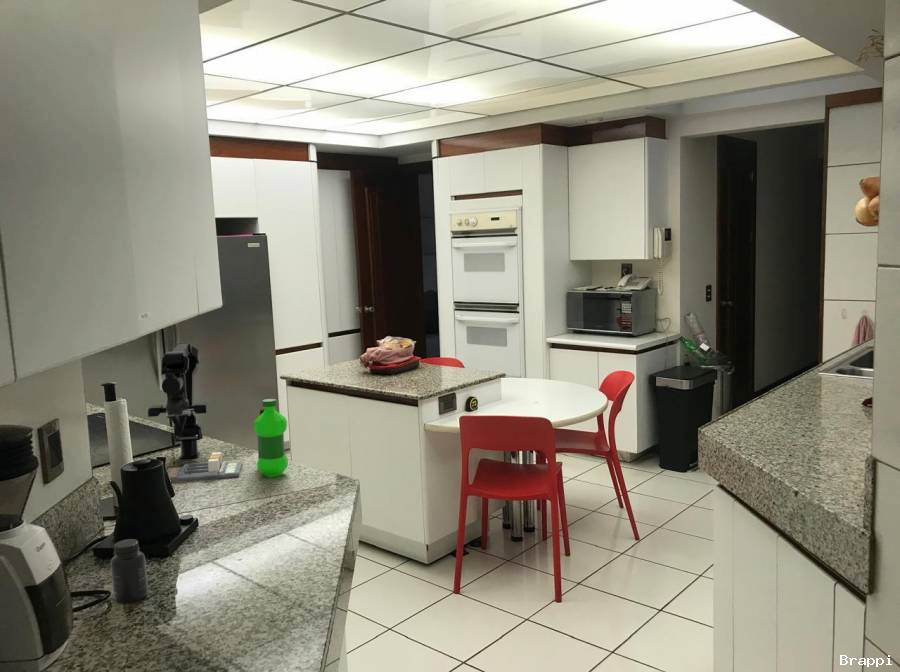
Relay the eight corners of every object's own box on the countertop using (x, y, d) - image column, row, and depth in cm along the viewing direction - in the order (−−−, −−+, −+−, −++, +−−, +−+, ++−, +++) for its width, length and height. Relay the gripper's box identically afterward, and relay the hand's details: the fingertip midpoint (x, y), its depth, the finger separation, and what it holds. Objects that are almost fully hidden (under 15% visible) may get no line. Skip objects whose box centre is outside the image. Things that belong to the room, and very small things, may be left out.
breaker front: (209, 471, 238) (209, 459, 238) (219, 470, 239) (218, 458, 238) (208, 474, 236) (207, 461, 235) (218, 473, 236) (217, 460, 236)
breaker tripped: (211, 468, 242) (210, 455, 242) (220, 467, 243) (219, 455, 242) (210, 470, 239) (209, 458, 239) (219, 469, 240) (218, 457, 240)
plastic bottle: (265, 481, 231) (260, 405, 228) (252, 474, 239) (248, 400, 236) (294, 475, 237) (290, 400, 234) (281, 468, 245) (277, 395, 242)
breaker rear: (213, 464, 246) (212, 452, 246) (222, 463, 247) (221, 451, 246) (212, 466, 243) (211, 454, 243) (221, 466, 244) (220, 454, 243)
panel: (169, 471, 244) (168, 465, 244) (242, 465, 249) (242, 459, 249) (161, 483, 232) (161, 476, 232) (238, 476, 237) (238, 470, 236)
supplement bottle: (138, 586, 160) (134, 534, 158) (154, 594, 156) (150, 541, 154) (107, 598, 155) (102, 544, 153) (123, 607, 150) (118, 552, 149)
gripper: (142, 395, 235) (146, 442, 237) (202, 391, 238) (205, 438, 240) (149, 389, 246) (153, 433, 248) (207, 385, 249) (210, 430, 251)
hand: (180, 434), depth 246 cm, fingers closed
